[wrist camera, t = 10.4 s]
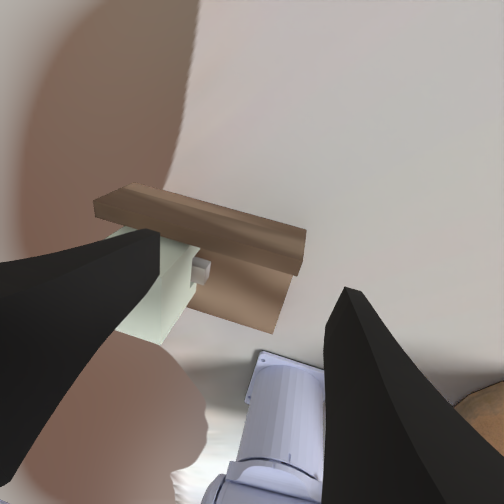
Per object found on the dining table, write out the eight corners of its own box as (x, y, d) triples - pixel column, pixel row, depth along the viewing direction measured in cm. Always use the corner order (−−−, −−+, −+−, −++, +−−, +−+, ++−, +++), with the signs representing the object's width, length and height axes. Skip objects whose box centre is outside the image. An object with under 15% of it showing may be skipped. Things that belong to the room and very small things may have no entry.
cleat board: (275, 322, 25) (266, 362, 21) (138, 279, 26) (107, 310, 23) (306, 229, 20) (302, 260, 16) (134, 182, 21) (93, 200, 17)
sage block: (195, 291, 23) (160, 345, 18) (143, 275, 24) (95, 323, 19) (201, 232, 20) (161, 277, 15) (141, 215, 21) (82, 252, 16)
